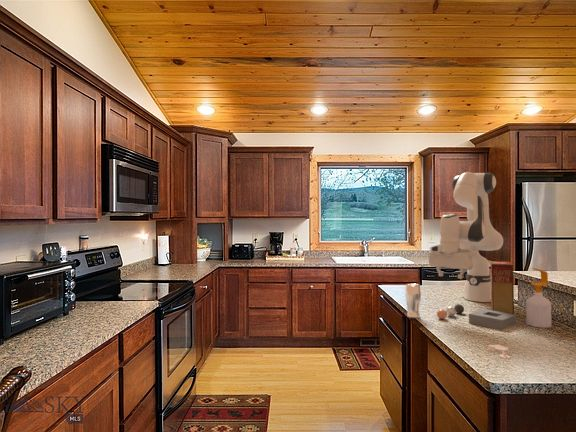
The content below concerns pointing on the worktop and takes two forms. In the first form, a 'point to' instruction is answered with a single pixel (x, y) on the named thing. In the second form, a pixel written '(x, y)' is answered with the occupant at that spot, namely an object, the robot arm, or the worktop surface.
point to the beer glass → (413, 300)
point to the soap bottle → (539, 305)
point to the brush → (500, 351)
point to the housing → (492, 319)
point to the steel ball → (450, 311)
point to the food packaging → (502, 287)
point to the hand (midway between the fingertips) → (450, 277)
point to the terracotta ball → (441, 314)
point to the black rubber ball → (459, 308)
